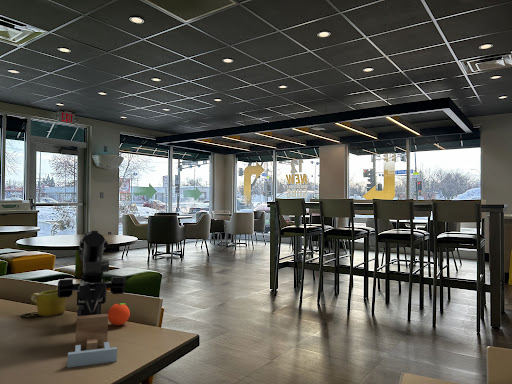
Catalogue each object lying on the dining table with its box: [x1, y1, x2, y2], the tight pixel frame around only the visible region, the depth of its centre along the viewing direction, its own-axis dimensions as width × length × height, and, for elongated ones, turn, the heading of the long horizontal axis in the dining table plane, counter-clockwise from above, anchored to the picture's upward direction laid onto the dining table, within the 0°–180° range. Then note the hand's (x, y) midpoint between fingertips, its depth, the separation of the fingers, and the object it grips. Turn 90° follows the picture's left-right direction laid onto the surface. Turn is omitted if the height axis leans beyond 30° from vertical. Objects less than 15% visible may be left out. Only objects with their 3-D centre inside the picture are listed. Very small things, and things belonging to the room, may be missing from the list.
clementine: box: [107, 302, 132, 326], centre depth 128 cm, size 8×7×7 cm
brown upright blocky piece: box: [74, 313, 109, 351], centre depth 104 cm, size 9×8×8 cm
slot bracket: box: [66, 341, 118, 368], centre depth 97 cm, size 6×11×3 cm, turn 114°
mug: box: [30, 288, 66, 318], centre depth 141 cm, size 12×10×10 cm
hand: (92, 311), depth 112 cm, fingers closed
